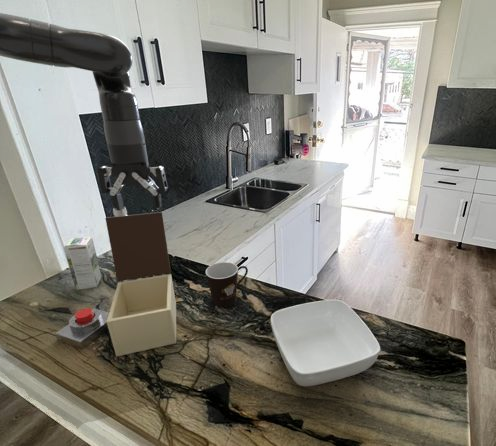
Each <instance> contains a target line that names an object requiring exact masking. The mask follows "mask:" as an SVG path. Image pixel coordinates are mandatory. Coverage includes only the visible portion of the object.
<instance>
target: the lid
mask: <svg viewBox="0 0 496 446" xmlns="http://www.w3.org/2000/svg"><path fill="white" fill-rule="evenodd" d="M105 224H106V230H107V235H108V240H109V245H110V250H111V255H112V260H113V265H114V270H115V275H116V281H117V282H123V281H130V280H136V279H142V278H149V277H155V276H161V275H168V274H172V270H171V269H172V268H171V262H170V257H169V251H168V243H167V236H166V229H165V221H164V217H163V212H162V211H157V212H148V213H138V214H127V215H126V216H116V217H115V216H108V217H105Z"/></svg>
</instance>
